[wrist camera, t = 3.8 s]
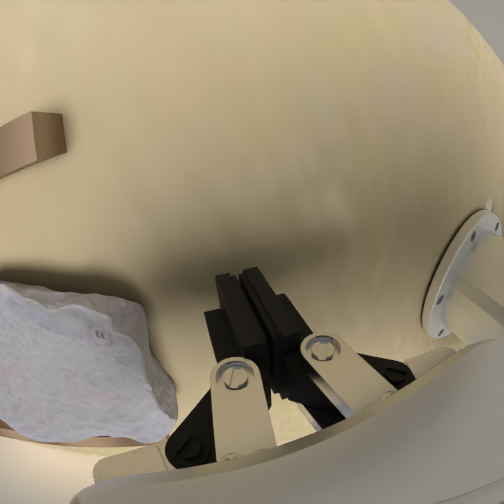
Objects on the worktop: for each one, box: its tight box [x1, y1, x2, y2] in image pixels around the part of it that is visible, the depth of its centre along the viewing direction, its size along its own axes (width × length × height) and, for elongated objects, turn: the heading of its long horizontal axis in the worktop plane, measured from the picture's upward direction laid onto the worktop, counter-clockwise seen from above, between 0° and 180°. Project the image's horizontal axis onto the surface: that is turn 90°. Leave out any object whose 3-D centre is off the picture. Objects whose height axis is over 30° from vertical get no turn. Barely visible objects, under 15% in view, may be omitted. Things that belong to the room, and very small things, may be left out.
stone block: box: [0, 280, 178, 443], centre depth 10 cm, size 12×5×10 cm
